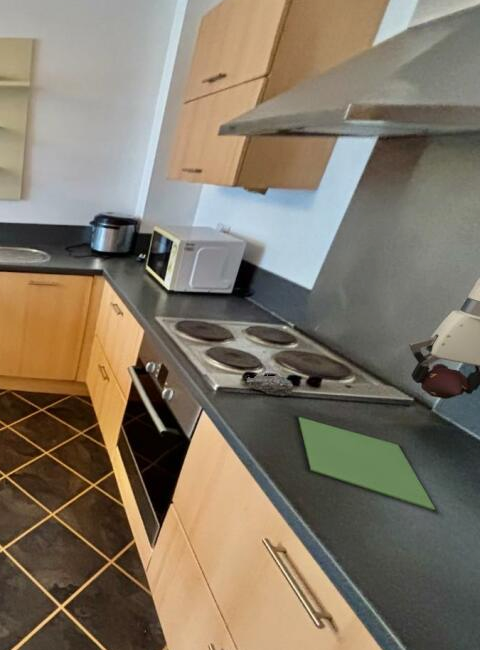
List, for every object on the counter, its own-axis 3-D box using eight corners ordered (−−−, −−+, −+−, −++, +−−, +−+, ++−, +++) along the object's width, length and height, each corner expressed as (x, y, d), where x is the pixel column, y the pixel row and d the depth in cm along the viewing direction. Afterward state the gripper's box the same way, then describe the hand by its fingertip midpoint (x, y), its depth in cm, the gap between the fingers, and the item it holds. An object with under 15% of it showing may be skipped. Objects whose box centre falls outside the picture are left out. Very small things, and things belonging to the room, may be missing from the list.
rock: (240, 377, 115) (246, 364, 113) (283, 386, 112) (289, 373, 110) (244, 389, 109) (250, 375, 107) (289, 400, 105) (296, 385, 103)
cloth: (397, 446, 90) (398, 444, 90) (434, 510, 73) (435, 509, 73) (298, 418, 98) (299, 416, 98) (310, 470, 81) (311, 469, 80)
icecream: (495, 389, 82) (462, 369, 95) (451, 371, 85) (424, 353, 97) (465, 416, 86) (436, 393, 98) (423, 397, 88) (400, 377, 100)
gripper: (540, 314, 84) (487, 390, 91) (425, 298, 91) (384, 369, 99) (563, 325, 78) (504, 405, 86) (438, 306, 85) (394, 381, 93)
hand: (440, 385), depth 92 cm, fingers closed on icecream, 7 cm apart
